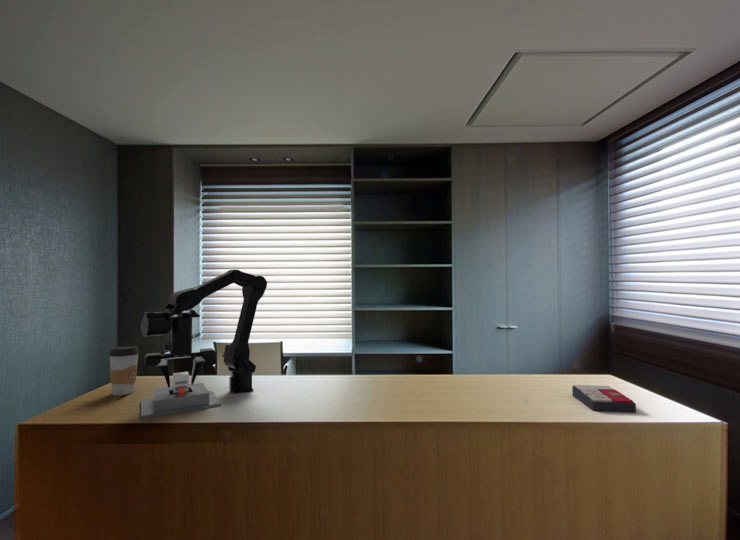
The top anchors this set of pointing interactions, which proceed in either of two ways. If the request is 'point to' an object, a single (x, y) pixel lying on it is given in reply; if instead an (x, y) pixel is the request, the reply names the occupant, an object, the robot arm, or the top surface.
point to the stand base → (178, 401)
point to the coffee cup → (123, 369)
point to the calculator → (603, 399)
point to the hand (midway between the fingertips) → (180, 385)
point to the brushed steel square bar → (180, 381)
